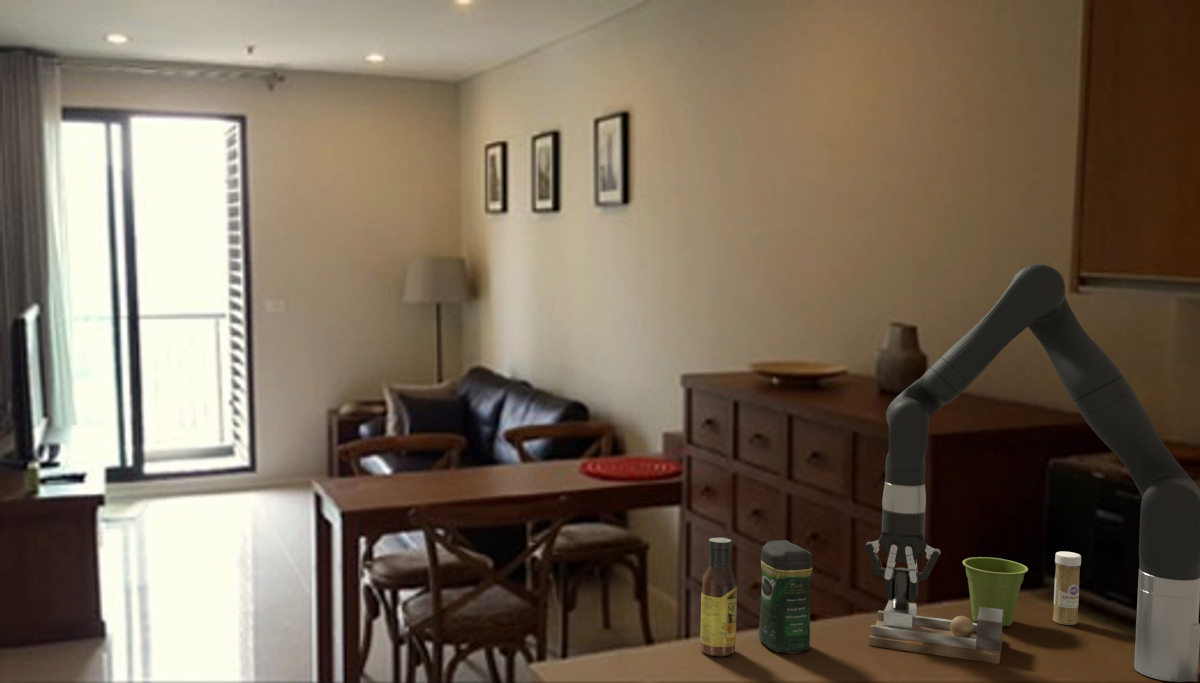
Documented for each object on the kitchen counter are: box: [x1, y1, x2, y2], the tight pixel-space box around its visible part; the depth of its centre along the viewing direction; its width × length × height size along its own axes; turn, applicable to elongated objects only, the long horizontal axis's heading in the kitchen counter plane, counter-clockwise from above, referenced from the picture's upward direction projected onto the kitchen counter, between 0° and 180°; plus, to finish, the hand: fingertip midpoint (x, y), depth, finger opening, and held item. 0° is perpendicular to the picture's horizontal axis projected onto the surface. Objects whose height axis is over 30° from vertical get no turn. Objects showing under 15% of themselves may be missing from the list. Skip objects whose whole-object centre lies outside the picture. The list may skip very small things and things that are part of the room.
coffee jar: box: [758, 539, 813, 654], centre depth 192 cm, size 10×8×19 cm
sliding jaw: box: [883, 567, 917, 631], centre depth 197 cm, size 5×7×11 cm
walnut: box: [950, 615, 974, 638], centre depth 194 cm, size 4×4×4 cm
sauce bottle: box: [699, 537, 738, 657], centre depth 189 cm, size 7×6×20 cm
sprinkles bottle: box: [1052, 550, 1082, 626], centre depth 208 cm, size 5×5×14 cm
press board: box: [868, 607, 1003, 665], centre depth 195 cm, size 22×13×6 cm, turn 68°
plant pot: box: [962, 556, 1029, 627], centre depth 207 cm, size 12×12×11 cm
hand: (900, 599), depth 197 cm, fingers closed on sliding jaw, 3 cm apart
